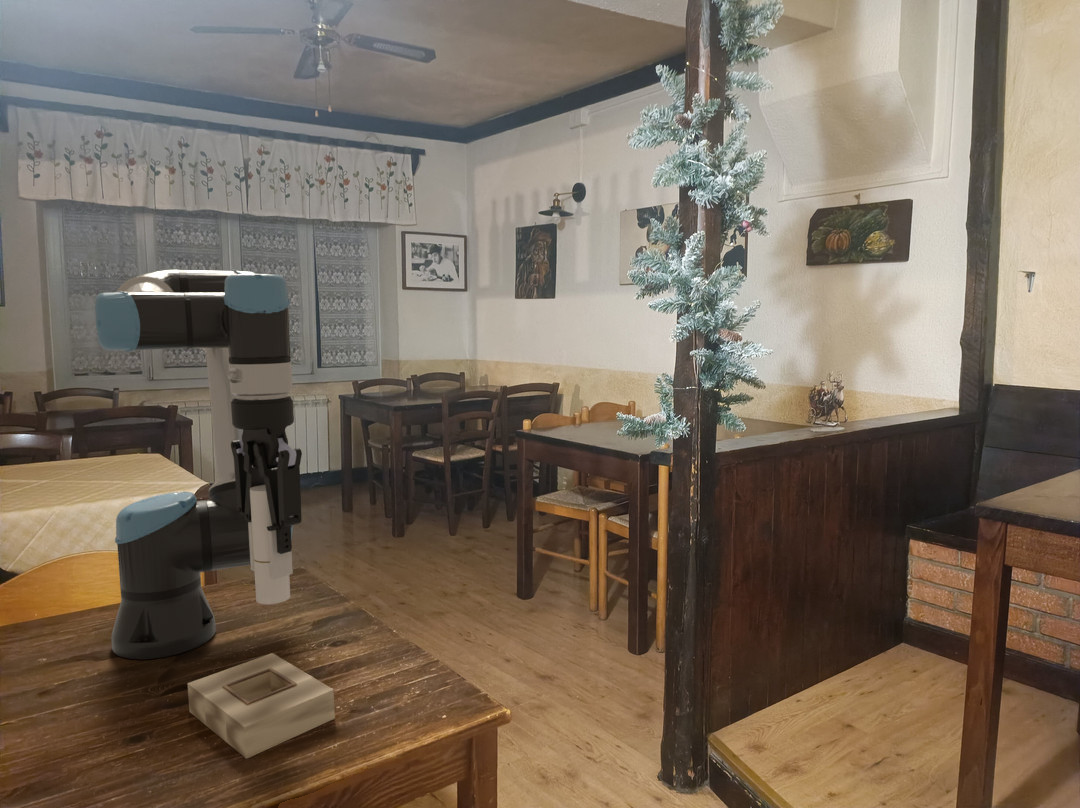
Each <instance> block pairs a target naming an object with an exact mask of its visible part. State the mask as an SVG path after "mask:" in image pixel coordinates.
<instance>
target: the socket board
mask: <svg viewBox="0 0 1080 808" xmlns="http://www.w3.org/2000/svg"><path fill="white" fill-rule="evenodd" d="M334 691H335V690H334V688H332V687H330V686H328V685H327V684H325V683H323V682H322V681H320V680H319V679H316V678H315V677H314V676H312V675H310V674H308V673H307V672H305V671H303V670H301V669H300V668H299V667H297V666H295V665H293V664H291V663H290V662H288V661H286V660H285V659H283V658H281V657H280V656H278V655H276V654H275V653H273V652H271V653H269V654H266V655H262V656H260V657H258V658H255V659H251V660H249V661H246V662H243V663H241V664H238V665H235V666H232V667H229V668H227V669H224V670H221V671H218V672H215V673H213V674H210V675H208V676H204V677H201V678H198V679H195V680H192V681H190V682H187V695H188V696H187V697H188V708H189V709H188V710H189V714H192V715H193V716H194V717H196V719H197V720H198V721H200V722H201V723H202V724H204V726H206V727H207V728H209V729H210V730H211V731H212V732H213V733H215V735H217V736H218V737H220V738H221V740H224V742H225V743H227V744H228V745H229V746H231V747H232V748H233V749H234V750H235V751H236V752H238V754H240V755H241V756H243V757H244V758H245V759H246V760H247V759H249V758H252V757H254V756H255V755H257V754H259V753H262V752H265V751H266V750H268V749H271V748H273V747H276V746H277V745H280V744H282V743H284V742H286V741H289V740H290V739H293V738H296V737H297V736H300V735H301V734H303V733H307V732H308V731H311V730H312V729H315V728H317V727H320V726H322V725H324V724H326V723H328V722H330V721H332V720H335V718H336V716H335V694H334V693H335V692H334Z"/></svg>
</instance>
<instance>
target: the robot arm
mask: <svg viewBox="0 0 1080 808" xmlns="http://www.w3.org/2000/svg"><path fill="white" fill-rule="evenodd" d="M289 306H290V298H289V295H288V285H287V281H286V279H285V277H283V276H282V275H280V274H270V273H255V272H253V271H247V270H246V271H245V270H237V269H230V270H205V269H203V270H202V269H201V270H200V269H199V270H198V269H162V270H155V271H151V272H147V273H143V274H140V275H137V276H134V277H132V278H130V279H128V280H125V281H124V282H123V283H122V284H121V285H120V286H119V287H118V289H117V290H116V292H100V293H98V295H96V297H95V300H94V313H95V327H96V328H95V330H96V335H97V336H96V337H97V342H98V343H97V344H98V346H100V347H101V348H102V349H103V350H106V351H124V352H133V351H148V350H149V351H150V350H151V351H153V350H175V349H177V350H178V349H201V350H203V351H204V352H205V357H206V358H205V359H206V367H207V368H206V369H207V378H208V390H209V400H210V402H209V403H210V411H211V422H212V432H213V433H212V434H213V443H214V455H215V456H214V457H215V465H216V476H217V479H216V480H215V481H214V483H213V484H212V485H210V487H209V489H208V497H209V498H208V499H205V500H197V499H198V497H196V495H195V494H194V493H193V492H190V491H182V492H177V491H176V492H168V493H162V494H158V495H155V496H149V497H147V498H144V499H141V500H138V501H134V502H131V504H129V505H127V506H124V507H123V508H122V509H121V510H120V511H119V512H118V513H117V515H116V519H115V534H116V535H115V539H114V541H115V542H114V543H115V544H116V545H117V558H118V559H117V560H118V573H119V585H120V586H119V587H120V589H119V590H120V604H119V606H118V611H117V614H116V617H115V621H114V625H113V628H112V631H111V637H110V638H111V650H112V652H113V653H114V655H117V656H118V657H121V658H124V659H129V660H130V659H131V660H151V659H160V658H167V657H171V656H175V655H179V654H182V653H185V652H188V651H191V650H193V649H197V648H198V647H200V646H202V645H204V644H206V643H208V642H209V640H211V639H212V638H213V637H214V636H215V634H216V630H217V629H216V618H215V615H214V612H213V610H212V608H211V606H210V603H209V601H208V599H207V597H206V594H205V592H204V590H203V588H202V579H201V578H202V577H201V573H203V572H204V573H205V572H213V571H219V570H224V569H232V568H238V567H244V566H250V571H253V572H254V555H253V538H252V520H251V502H250V488H251V487H254V486H260V485H265V487H266V493H267V499H268V505H269V511H270V517H271V523H272V526H268V527H267V529H268V536H269V554H270V572H271V578H272V579H277V578H280V577H283V576H287V575H289V576H290V575H293V574H294V572H293V571H294V570H293V555H292V554H293V553H292V549H293V546H292V545H293V543H292V540H293V529H294V526H296V525H299V524H301V523H302V518H303V517H302V497H301V496H302V494H301V475H300V474H301V472H300V471H301V469H300V468H301V467H300V465H301V460H302V454H303V453H302V449H301V448H298V447H296V448H292V447H291V446H290V445H289V439H288V435H287V433H286V432H287V431H286V428H287V427H289V426H291V425H293V423H294V422H295V417H294V416H295V415H294V413H295V411H294V399H293V398H292V396H289V394H290V393H292V392H293V390H294V387H293V372H292V369H293V367H292V360H291V359H292V358H291V342H290V316H289V314H290V310H289Z"/></svg>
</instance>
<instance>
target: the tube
mask: <svg viewBox="0 0 1080 808" xmlns="http://www.w3.org/2000/svg"><path fill="white" fill-rule="evenodd" d="M250 502H251V520H252V538H253V555H254V571H253V572H254V584H255V601H256V603H257V604H260V605H276V604H280V603H281V604H282V603H283V602H285V601H288V600H289V599H291V587H290V586H291V584H290V582H291V581H290V575H287V576H283V577H280V578H277V579H272V578H271V572H270V554H269V536H268V529H267V527H268V526H272V523H271V517H270V511H269V505H268V499H267V493H266V487H265V485H260V486H254V487H251V488H250Z"/></svg>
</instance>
